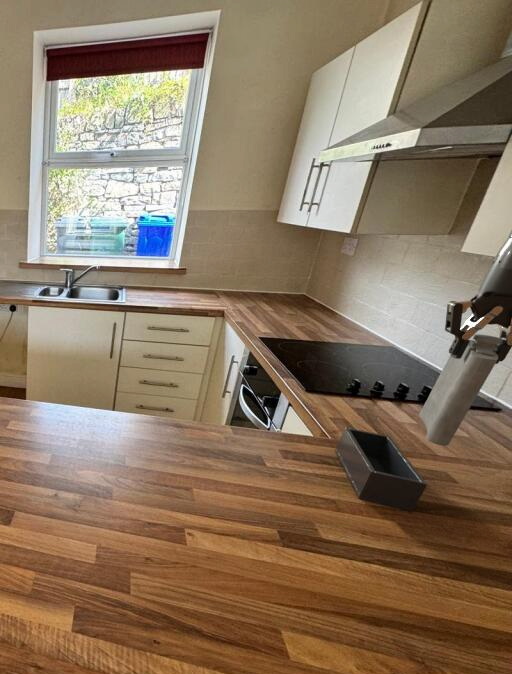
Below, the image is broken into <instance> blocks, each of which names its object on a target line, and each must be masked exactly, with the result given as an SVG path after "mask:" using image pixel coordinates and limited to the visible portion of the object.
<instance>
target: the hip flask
mask: <svg viewBox="0 0 512 674" xmlns="http://www.w3.org/2000/svg"><path fill="white" fill-rule="evenodd" d="M469 340H470V342H469V344H468V346H467V348H466V350H465V352H464V353H463V355H462V357H461V358H460V359H457V358H453V357H451V354H450V355H449V356H448V358H447V360H446V363H445V365H444V367H443V368H442V370H441V372H440V374H439V376H438V377H437V379H436V382H435V384H434V385H433V387H432V389H431V391H430V393H429V395H428V397H427V399H426V401H425V402H424V405H423V407H422V409H421V410H420V412H419V414H418V417H419V419H421V420H422V422H423V423H424V425H425V427H426V431H427V432H426V436H425V440H426V441H428V442H430V443H433V444H434V445H438V446H443V447H447V446H449V445H450V443H451V442H452V440H453V438H454V436H455V435H456V433H457V431H458V429H459V427H460V426H461V424H462V422H463V420H464V419H465V418H466V415H467V413H468V412H469V410H470V408H471V406H472V405H473V403H474V402H475V399H476V398H477V397H478V394H479V393H480V391H481V389H482V388H483V386H484V384H485V383H486V381H487V379H488V378H489V376H490V374H491V372H492V370H493V368H494V367H495V366H496V364H495V363H496V362H497V360H498V355H497V353H496V352H495V351H494V350H496V349H497V347H498V345H497V344H501V343H502V341H503V339H501V338H500V337H498V336H493V335H487V334H480V333H479V334H477V333H475V334H474V335H473V336H472V339H469Z"/></svg>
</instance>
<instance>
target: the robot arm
mask: <svg viewBox="0 0 512 674" xmlns="http://www.w3.org/2000/svg"><path fill="white" fill-rule="evenodd" d="M469 308H470V311H471V313H472V314H471V316H469V317H468V318H467V319H466V320H465V321H464V324H463V325H462V319H463V314H465V313H466V312H467V311H468V309H469ZM487 325H490V326H492V325H497V326H498V329H499V338H501V339H503V341H502V343H501V344H497V345H498V347H497V349H496V350H494V351H495V352H496V353H497V355H498V360H497V362H496V363H495V365H498V364H499V363H500V362H504V360H506V357H508V354H510V351H511V349H512V230H510V233H509V234H508V236H507V238H506V240H505V241H504V243H503V244H502V246H501V247H500V248H499V250H498V251H497V253H496V256H495V257H494V258H493V259H492V261H491V264H490V267H489V269H488V271H487V273H486V274H485V276H484V278H483V280H482V282H481V284H480V286H479V288H478V291H477V293H476V295H474V296H473V297H472V298H470V300H464V301H455V300H450V301H449V302H448V303H447V306H446V315H445V325H444V331H445V332H447V333H449V334H451V335H453V336H454V340H453V341H452V343H451V345H450V346H449V348H448V353H449V354H450V355H451V357H453V358H457V359H460V358H461V357H462V355H463V353H464V352H465V350H466V348H467V346H468V344H469V342H470V340H471V339H472V338H473V337H474V335H475V334H477V333H478V332H479V331H481V330H483V329H484V328H485V327H486V326H487Z"/></svg>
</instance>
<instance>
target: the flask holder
mask: <svg viewBox="0 0 512 674" xmlns="http://www.w3.org/2000/svg"><path fill="white" fill-rule="evenodd" d="M334 453H335V454H336V456H337V458H338V460H339V463H340V465H341V466H342V469H343V470H344V472H345V474H346V476H347V478H348V481H349V482H350V484H351V486H352V488H353V491H354V493H355V494H356V496H357V499H359V500H363V501H366V502H371V503H375V504H379V505H383V506H385V507H386V506H387V507H391V508H394V509H398V510H403V511H406V512H410V513H412V512H413V511H414V509H415V507H416V506H417V505H418V502H419V500H421V497H422V495H423V493H424V491H425V490H426V488H427V486H428V483H427V482H426V481H425V479H424V478H423V477H422V476H421V474H420V473H419V472H418V470H417V469H416V468H415V466H414V465H413V464H412V463H411V461H410V460H409V459H408V458H407V456H406V455H405V453H404V452H403V451H402V450H401V449H400V447H399V445H397V444H396V442H395V441H394V439H393V438H392V437H391V436H390V435H385V434H381V433H375V432H371V431H366V430H360V429H356V428H351V427H347V426H344V428H343V430H342V432H341V436H340V438H339V440H338V443H337V445H336V447H335V449H334Z"/></svg>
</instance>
